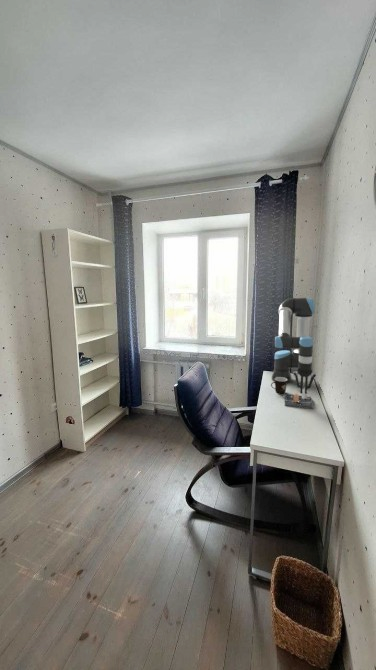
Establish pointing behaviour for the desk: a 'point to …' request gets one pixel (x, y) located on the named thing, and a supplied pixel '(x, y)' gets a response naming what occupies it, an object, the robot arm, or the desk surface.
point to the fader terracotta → (296, 397)
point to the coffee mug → (280, 385)
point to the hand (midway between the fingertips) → (303, 398)
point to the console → (302, 402)
